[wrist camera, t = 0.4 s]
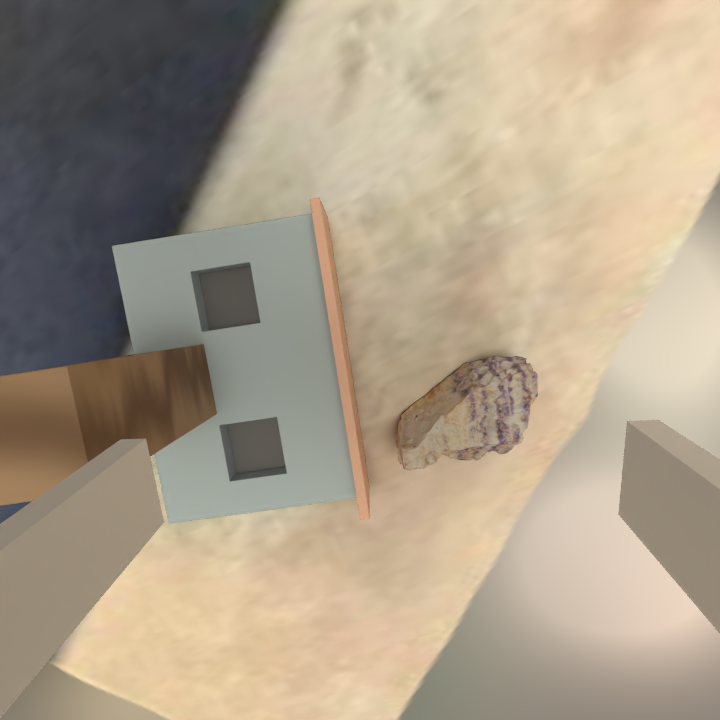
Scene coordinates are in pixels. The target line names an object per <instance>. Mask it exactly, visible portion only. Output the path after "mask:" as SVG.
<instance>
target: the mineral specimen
mask: <svg viewBox="0 0 720 720" xmlns="http://www.w3.org/2000/svg"><path fill="white" fill-rule="evenodd" d="M537 395H538V392H537V373H536V372H533V369H532V366H531V364H530V363H529V364H527V363H526V358H523V357H518V356H515V357H496V356H493V357H490V358H488V359H487V360H478V361H476V362H470V363H465V364H463V365H462V366H461V367H460V368H459V369H458V370H456V371H454V372H453V373H452V374H451V375H450V376H449V377H447V378H446V379H445V380H444V381H443V382H441V383H440V384H439V386H437V387H435V388H434V389H433V390H432V391H431V392H430V393H428V394H427V395H426V396H425V397H423V398H421V399H420V400H418V401H417V402H415V403H414V404H413V405H412V406H411V407H409V409H408V410H407V411H405V412H404V413H403V414H402V415H401V420H400V421H399V423H398V431H397V435H398V436H397V442H396V443H397V448H398V460H399V462H400V464H403V468H404V469H407V470H414V469H417V468H420V469H421V468H425V467H426V466H428V465H432V464H434V463H436V461H437V459H438V458H439V457H440V456H441V455H442V454H444V455H446V456H448V457H450V458H455V459H459V460H478V459H480V458H481V457H482V456H483V455H485V454H486V453H487V452H490V451H496V452H498V453H499V454H505V453H508V451H509V450H511V449H513V447H514V446H515V445H517V444H519V443H521V442H522V440H523V436H522V433H523V432H524V431H525V429H526V428H527V425H528V421H529V414H530V405H531V403H532V402H533V401H534V400H535V398H536V397H537Z"/></svg>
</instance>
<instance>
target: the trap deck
mask: <svg viewBox="0 0 720 720" xmlns="http://www.w3.org/2000/svg"><path fill="white" fill-rule="evenodd" d="M310 204H311V210H312V214H307V215H300V216H294V217H288V218H282V219H276V220H269V221H263V222H257V223H251V224H245V225H239V226H232V227H226V228H220V229H214V230H208V231H201V232H195V233H189V234H183V235H177V236H171V237H164V238H158V239H152V240H146V241H140V242H134V243H127V244H121V245H115V246H112V250H113V254H114V259H115V264H116V269H117V274H118V279H119V284H120V288H121V293H122V298H123V303H124V308H125V313H126V318H127V323H128V327H129V332H130V337H131V342H132V347H133V352H134V354H141V353H147V352H154V351H160V350H167V349H174V348H180V347H187V346H193V345H200V344H204V347H205V352H206V358H207V363H208V368H209V374H210V379H211V384H212V390H213V395H214V400H215V406H216V411H217V414H216V415H214V416H213V417H211V418H210V419H208V420H207V421H205V422H204V423H202V424H200V425H199V426H197V427H196V428H194V429H193V430H191V431H189V432H188V433H186V434H185V435H183V436H182V437H180V438H178V439H177V440H175V441H174V442H172V443H171V444H169V445H168V446H166V447H164V448H163V449H161V450H160V451H158V452H157V453H155V459H156V464H157V469H158V474H159V478H160V483H161V488H162V493H163V498H164V503H165V508H166V513H167V517H168V522H169V524H171V523H178V522H186V521H193V520H200V519H208V518H215V517H222V516H229V515H237V514H244V513H251V512H259V511H266V510H273V509H280V508H288V507H295V506H302V505H310V504H317V503H324V502H332V501H339V500H346V499H353V498H357V501H358V507H359V514H360V520H362V519H370V516H369V481H368V475H367V468H366V462H365V455H364V449H363V443H362V436H361V430H360V423H359V417H358V410H357V404H356V397H355V391H354V384H353V378H352V371H351V365H350V359H349V352H348V346H347V339H346V333H345V326H344V320H343V313H342V307H341V300H340V294H339V287H338V281H337V274H336V268H335V262H334V255H333V249H332V242H331V236H330V229H329V223H328V217H327V215H326V212H325V210H324V207H323V205H322V202H321V200H320V198H312V199H310Z"/></svg>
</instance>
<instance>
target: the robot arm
mask: <svg viewBox="0 0 720 720" xmlns="http://www.w3.org/2000/svg"><path fill="white" fill-rule="evenodd" d="M619 515H620V517H621V518H622V519H623V520H624V521H625V522H626V524H627V525H628V526H629V527H630V528H631V530H632V531H633V532H634V533H635V534H636V535H637V537H638V538H639V539H640V540H641V541H642V542H643V544H644V545H645V546H646V547H647V548H648V549H649V550H650V552H651V553H652V554H653V555H654V556H655V558H656V559H657V560H658V561H659V562H660V564H662V566H663V567H664V568H665V569H666V571H667V572H668V573H669V574H670V575H671V577H672V578H673V579H674V580H675V581H676V582H677V584H678V585H679V586H680V587H681V588H682V589H683V591H684V592H685V593H686V594H687V595H688V597H689V598H690V599H691V600H692V601H693V602H694V603H695V605H696V606H697V607H698V608H699V609H700V611H701V612H702V613H703V614H704V615H705V616H706V618H707V619H708V620H709V621H710V622H711V623H712V624H713V626H714V627H715V628H716V629H717V630H718V632H719V633H720V459H718V458H717V457H715V456H714V455H712V454H710V453H709V452H707V451H706V450H704V449H702V448H701V447H700V446H698V445H696V444H694V443H693V442H692V441H690V440H689V439H687V438H686V437H684V436H682V435H681V434H679V433H678V432H676V431H675V430H673V429H672V428H670V427H668V426H667V425H665V424H664V423H662V422H661V421H659V420H650V421H649V420H648V421H627V429H626V440H625V450H624V462H623V472H622V482H621V494H620V504H619ZM163 523H164V519H163V515H162V510H161V506H160V501H159V496H158V492H157V487H156V483H155V478H154V473H153V469H152V464H151V460H150V455H149V450H148V446H147V441H146V439H121V440H119V441H118V442H116V443H115V444H114V445H112V446H111V447H109V448H108V449H106V450H105V451H104V452H102V453H101V454H99V455H98V456H96V457H95V458H94V459H92V460H91V461H89V462H88V463H86V464H85V465H84V466H82V467H81V468H79V469H78V470H77V471H75V472H74V473H72V474H71V475H69V476H68V477H67V478H65V479H64V480H62V481H61V482H59V483H58V484H57V485H55V486H54V487H52V488H51V489H49V490H48V491H47V492H45V493H44V494H42V495H41V496H40V497H38V498H37V499H35V500H34V501H32V502H31V503H30V504H28V505H27V506H25V507H24V508H22V509H21V510H20V511H18V512H17V513H15V514H14V515H12V516H11V517H10V518H8V519H7V520H5V521H4V522H2V523H1V524H0V718H1V717H2V716H3V714H4V713H5V712H6V711H7V710H8V708H9V707H10V706H11V705H12V704H13V702H14V701H15V700H16V699H17V698H18V696H19V695H20V694H21V693H22V692H23V690H24V689H25V688H26V687H27V685H28V684H29V683H30V682H31V681H32V679H33V678H34V677H35V676H36V675H37V673H38V672H39V671H40V670H41V669H42V668H43V666H44V665H45V664H46V663H47V662H48V660H49V659H50V658H51V657H52V656H53V654H54V653H55V652H56V651H57V650H58V648H59V647H60V646H61V645H62V644H63V643H64V641H65V640H66V639H67V638H68V637H69V635H70V634H71V633H72V632H73V631H74V629H75V628H76V627H77V626H78V625H79V623H80V622H81V621H82V620H83V619H84V617H85V616H86V615H87V614H88V613H89V611H90V610H91V609H92V608H93V607H94V605H95V604H96V603H97V602H98V601H99V599H100V598H101V597H102V596H103V595H104V593H105V592H106V591H107V590H108V589H109V587H110V586H111V585H112V584H113V583H114V581H115V580H116V579H117V578H118V577H119V575H120V574H121V573H122V572H123V571H124V569H125V568H126V567H127V566H128V565H129V563H130V562H131V561H132V560H133V559H134V557H135V556H136V555H137V554H138V553H139V551H140V550H141V549H142V548H143V547H144V546H145V544H146V543H147V542H148V541H149V540H150V538H151V537H152V536H153V535H154V534H155V532H156V531H157V530H158V529H159V528H160V526H161V525H162V524H163Z"/></svg>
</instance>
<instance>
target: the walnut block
mask: <svg viewBox="0 0 720 720" xmlns="http://www.w3.org/2000/svg"><path fill="white" fill-rule="evenodd" d="M216 414H217V411H216V406H215V400H214V395H213V390H212V384H211V379H210V374H209V368H208V363H207V358H206V352H205V347H204V344H200V345H193V346H187V347H180V348H174V349H167V350H160V351H154V352H147V353H141V354H134V355H128V356H122V357H115V358H109V359H103V360H97V361H90V362H84V363H78V364H72V365H65V366H59V367H53V368H47V369H40V370H34V371H28V372H22V373H15V374H9V375H3V376H0V505H7V504H14V503H21V502H28V501H34V500H35V499H37V498H38V497H40V496H41V495H42V494H44V493H45V492H47V491H48V490H49V489H51V488H52V487H54V486H55V485H57V484H58V483H59V482H61V481H62V480H64V479H65V478H67V477H68V476H69V475H71V474H72V473H74V472H75V471H77V470H78V469H79V468H81V467H82V466H84V465H85V464H86V463H88V462H89V461H91V460H92V459H94V458H95V457H96V456H98V455H99V454H101V453H102V452H104V451H105V450H106V449H108V448H109V447H111V446H112V445H114V444H115V443H116V442H118V441H119V440H121V439H146V441H147V446H148V450H149V455H150V456H152V455H153V454H155V453H157V452H158V451H160V450H161V449H163V448H164V447H166V446H168V445H169V444H171V443H172V442H174V441H175V440H177V439H178V438H180V437H182V436H183V435H185V434H186V433H188V432H189V431H191V430H193V429H194V428H196V427H197V426H199V425H200V424H202V423H204V422H205V421H207V420H208V419H210V418H211V417H213V416H214V415H216Z"/></svg>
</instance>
